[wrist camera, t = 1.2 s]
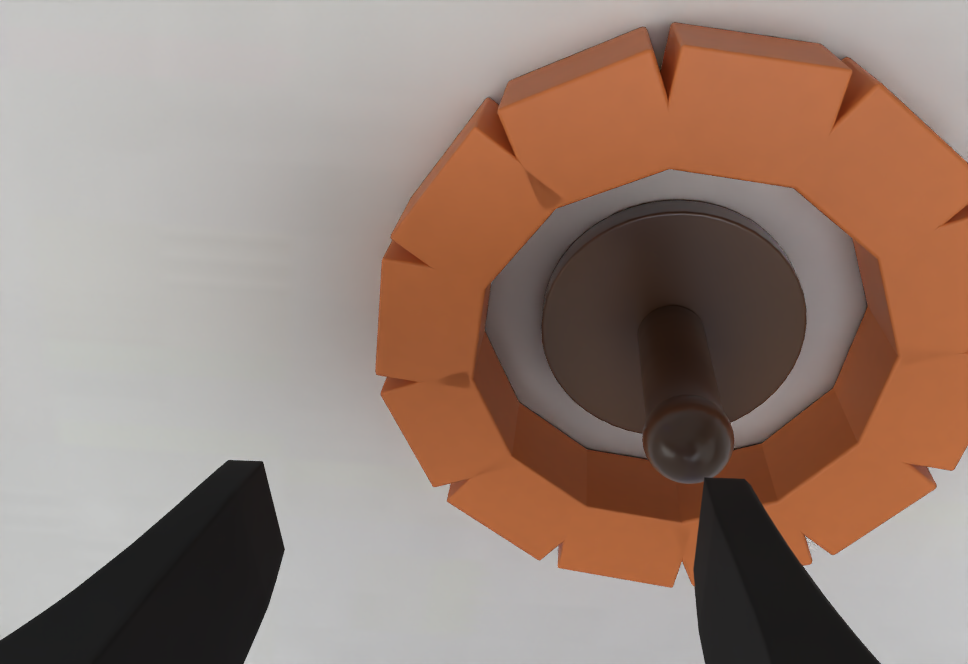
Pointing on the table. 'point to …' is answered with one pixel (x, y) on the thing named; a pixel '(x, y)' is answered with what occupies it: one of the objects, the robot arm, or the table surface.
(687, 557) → the ring
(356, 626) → the table surface
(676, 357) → the peg stand
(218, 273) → the table surface
